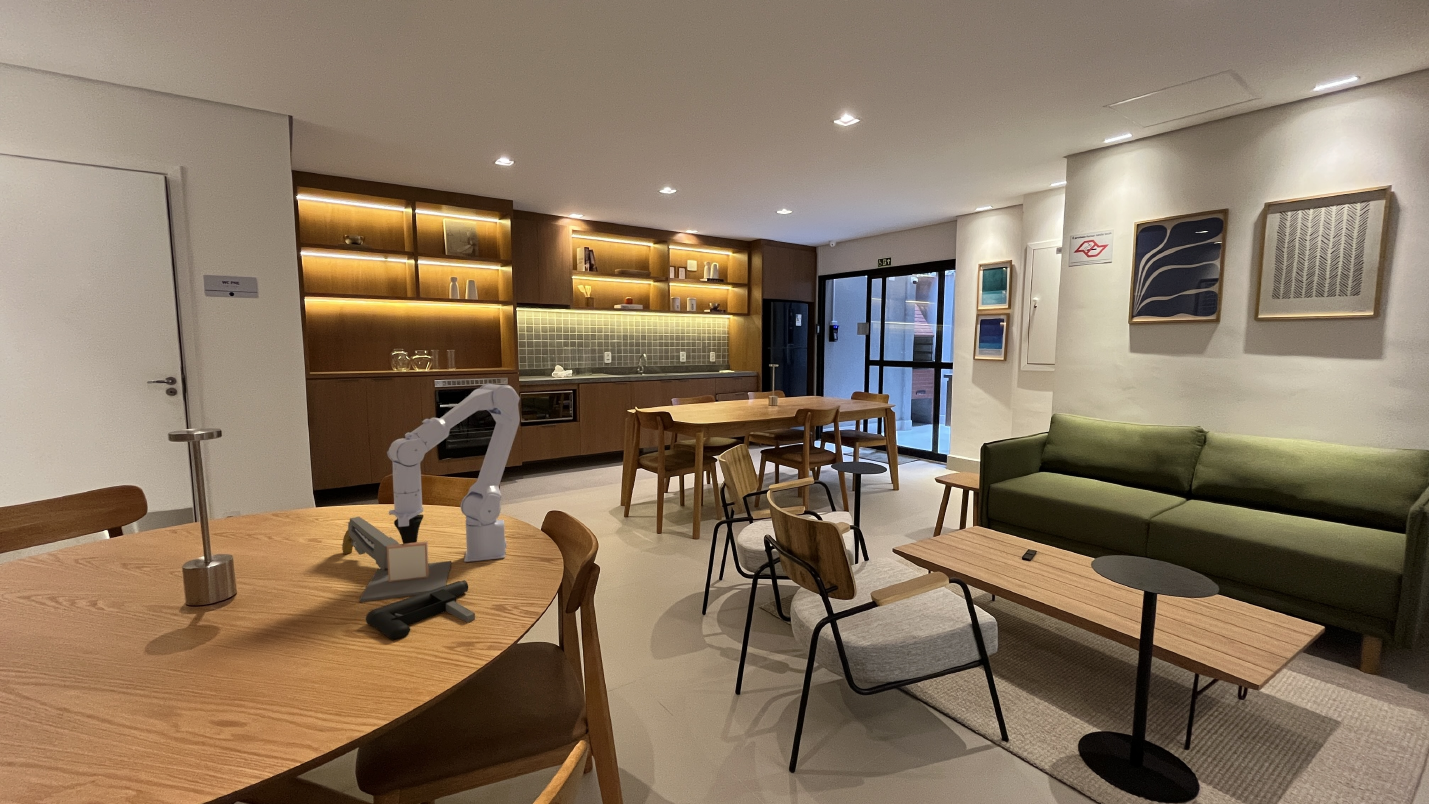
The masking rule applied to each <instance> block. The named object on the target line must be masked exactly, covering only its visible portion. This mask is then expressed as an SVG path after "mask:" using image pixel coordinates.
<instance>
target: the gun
mask: <svg viewBox="0 0 1429 804" xmlns="http://www.w3.org/2000/svg"><path fill="white" fill-rule="evenodd" d="M347 524H348V525H347V527H348V528H347V530H346V531H345V534H344V535H343V537H342V539H343V540H342V545H341V546H342V547H341V550H342V555H347V554H351V553H352V552H353V548H354V550H355V551H356V553H357V554H358V555H360V556H361V555H365V554H367V555H368V556H369V557H370V558H372V559H373V560H374V561H375V564H376V565H377V566H378V567H379V569H381V570H386V569H388V559H387V546H388V545H395V544H401V543H399V542H398V541H397V540H396V539H395V538H393V537H392V536H388V535H387V534H385V533H383V531H381V530H379V529H378V528H377V527H376V526H374V525H372V524H371V523H370V522H369V521H367V520H365V519H364V518H362V517H360V516H355V517H350V518H349V521H348V523H347Z"/></svg>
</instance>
